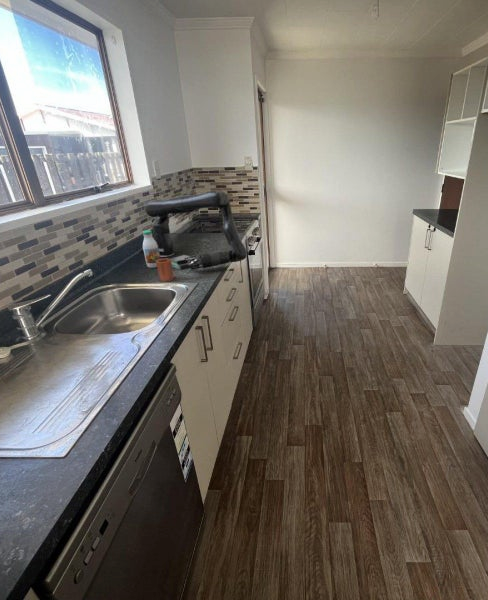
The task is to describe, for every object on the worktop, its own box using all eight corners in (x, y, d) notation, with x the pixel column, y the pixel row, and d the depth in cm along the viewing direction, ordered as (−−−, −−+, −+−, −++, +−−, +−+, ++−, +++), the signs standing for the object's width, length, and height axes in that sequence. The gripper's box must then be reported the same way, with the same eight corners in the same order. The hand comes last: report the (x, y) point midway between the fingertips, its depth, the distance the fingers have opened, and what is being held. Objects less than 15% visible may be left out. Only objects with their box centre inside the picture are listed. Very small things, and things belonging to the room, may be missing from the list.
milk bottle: (144, 267, 184) (135, 232, 176) (154, 263, 191) (146, 228, 182) (154, 268, 181) (146, 233, 173) (164, 264, 188) (157, 229, 179)
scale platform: (169, 260, 186) (168, 259, 185) (184, 255, 193) (184, 254, 192) (178, 263, 180) (178, 262, 180) (194, 259, 187) (194, 258, 187)
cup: (157, 279, 166) (153, 261, 162) (169, 276, 171) (165, 257, 167) (164, 282, 163) (160, 263, 158) (176, 278, 167) (172, 260, 163)
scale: (167, 265, 187) (166, 260, 185) (185, 259, 195) (185, 255, 194) (179, 269, 180) (178, 264, 179) (197, 263, 188) (197, 259, 187)
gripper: (205, 249, 179) (174, 254, 171) (213, 256, 168) (180, 262, 160) (207, 262, 182) (177, 268, 175) (215, 270, 171) (183, 276, 164)
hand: (179, 265), depth 167 cm, fingers open, 8 cm apart
